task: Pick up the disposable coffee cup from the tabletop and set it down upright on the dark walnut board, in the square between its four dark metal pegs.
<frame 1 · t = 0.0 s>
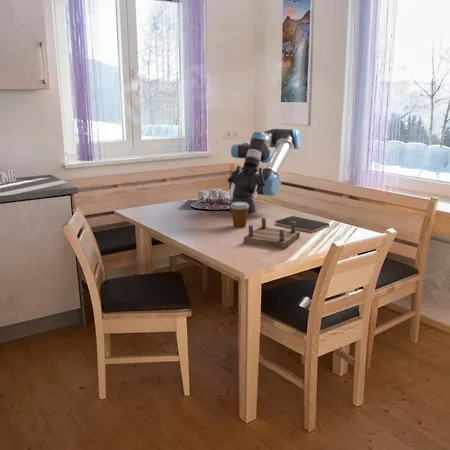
hand: (242, 196, 253), 15 cm above the table, tool tilted 35°, fingers open, 13 cm apart
disposable coffee cup: (239, 226, 255), on the table
hardcover book: (301, 226, 257), on the table
peg board: (272, 240, 232), on the table
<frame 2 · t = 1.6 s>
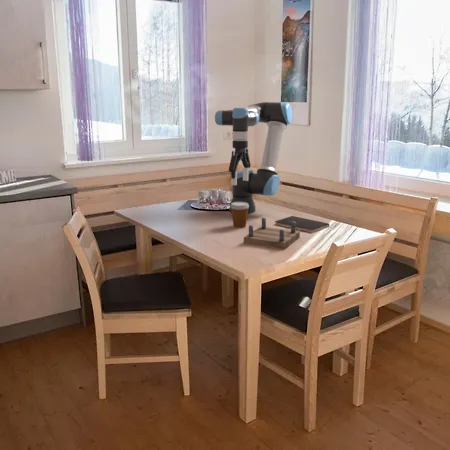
hand: (239, 182, 249), 23 cm above the table, tool pointing down, fingers open, 13 cm apart
nothing on the table moved.
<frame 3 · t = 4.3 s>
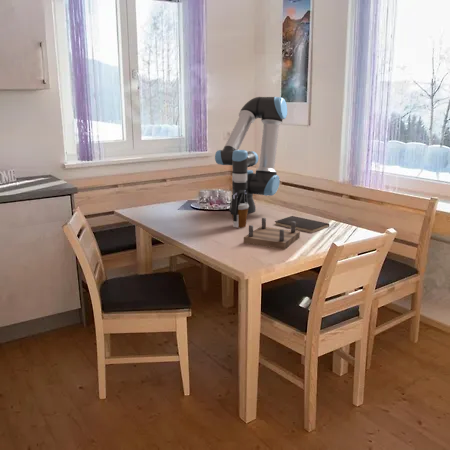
hand: (239, 224, 255), 1 cm above the table, tool pointing down, fingers closed on disposable coffee cup, 8 cm apart
disposable coffee cup: (239, 226, 255), on the table, touching gripper
everything else where it was.
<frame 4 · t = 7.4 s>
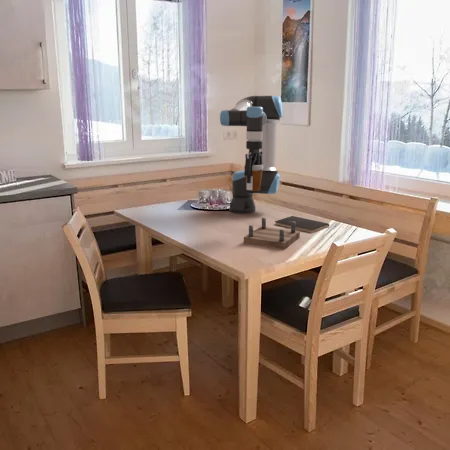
hand: (253, 188, 238), 22 cm above the table, tool pointing down, fingers closed on disposable coffee cup, 8 cm apart
disposable coffee cup: (253, 190, 238), point 21 cm above the table, touching gripper
everything else where it was.
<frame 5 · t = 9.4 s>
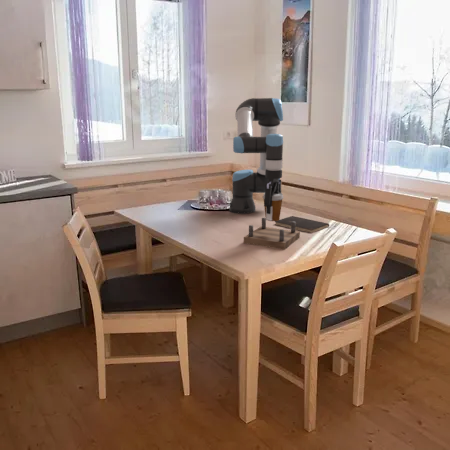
hand: (272, 218, 229), 11 cm above the table, tool pointing down, fingers closed on disposable coffee cup, 8 cm apart
disposable coffee cup: (272, 220, 229), point 10 cm above the table, touching gripper
everything else where it was.
when the fingers open (5 cm above the table, at t = 10.8 s): disposable coffee cup drops 1 cm, resting on peg board.
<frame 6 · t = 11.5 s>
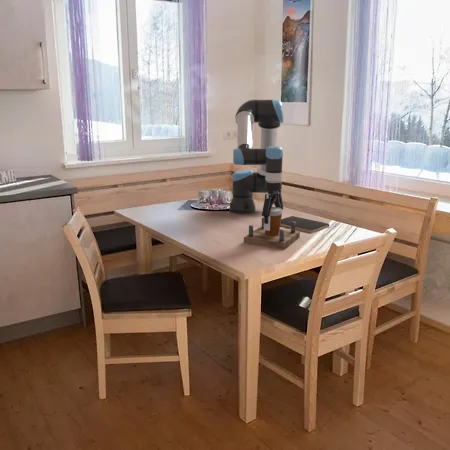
hand: (272, 226, 230), 7 cm above the table, tool pointing down, fingers open, 13 cm apart
disposable coffee cup: (272, 234, 231), point 3 cm above the table, touching peg board
everything else where it was.
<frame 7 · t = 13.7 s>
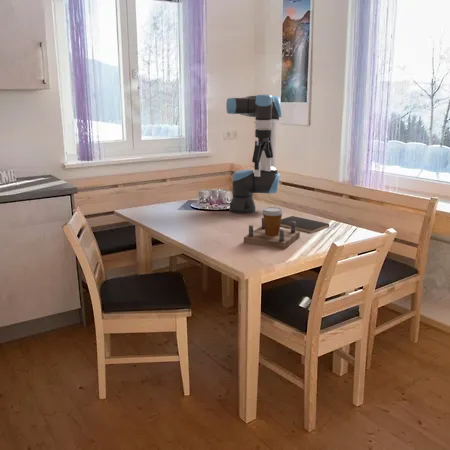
hand: (262, 173, 238), 29 cm above the table, tool pointing down, fingers open, 13 cm apart
nothing on the table moved.
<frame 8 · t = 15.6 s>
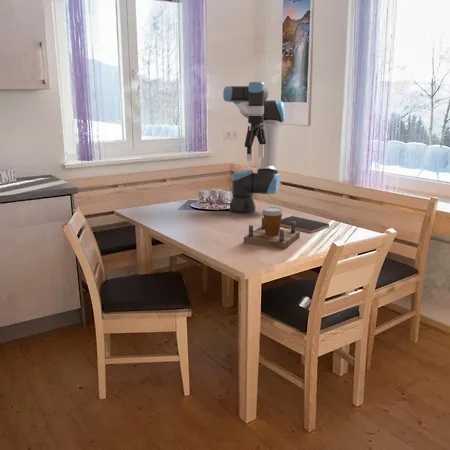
hand: (255, 159, 245), 35 cm above the table, tool pointing down, fingers open, 13 cm apart
nothing on the table moved.
at the end: disposable coffee cup 0.1 cm off-centre on the peg board, point 2.8 cm above the peg board's base; disposable coffee cup tilted 0°; the gripper is holding nothing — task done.
